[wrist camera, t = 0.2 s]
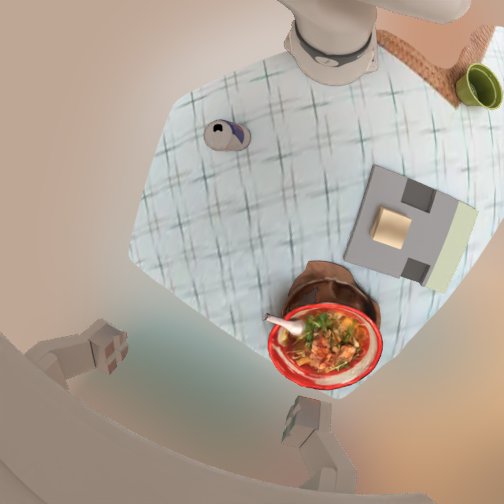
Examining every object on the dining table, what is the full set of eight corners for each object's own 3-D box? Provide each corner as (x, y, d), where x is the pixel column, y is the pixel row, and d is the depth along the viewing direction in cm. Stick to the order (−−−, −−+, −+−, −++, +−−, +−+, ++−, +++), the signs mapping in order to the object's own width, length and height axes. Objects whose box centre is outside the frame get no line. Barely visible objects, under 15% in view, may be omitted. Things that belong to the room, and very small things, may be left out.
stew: (247, 297, 65) (226, 338, 50) (333, 238, 55) (337, 270, 41) (315, 371, 68) (310, 417, 54) (395, 328, 59) (408, 374, 44)
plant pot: (467, 67, 34) (485, 58, 26) (488, 105, 36) (509, 101, 28) (441, 79, 37) (458, 70, 30) (463, 119, 39) (483, 116, 31)
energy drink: (250, 124, 51) (232, 117, 40) (252, 150, 53) (234, 149, 42) (225, 126, 52) (201, 121, 41) (226, 151, 54) (203, 152, 43)
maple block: (379, 204, 49) (383, 209, 45) (405, 214, 48) (411, 219, 44) (369, 233, 51) (372, 239, 47) (395, 242, 50) (400, 249, 47)
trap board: (373, 164, 48) (375, 165, 46) (474, 209, 45) (478, 211, 43) (343, 257, 56) (344, 260, 54) (441, 289, 53) (444, 293, 51)
